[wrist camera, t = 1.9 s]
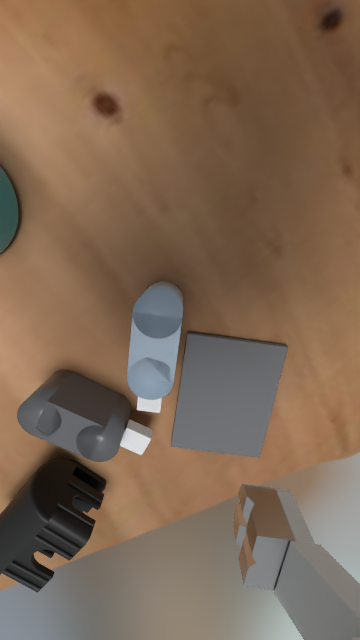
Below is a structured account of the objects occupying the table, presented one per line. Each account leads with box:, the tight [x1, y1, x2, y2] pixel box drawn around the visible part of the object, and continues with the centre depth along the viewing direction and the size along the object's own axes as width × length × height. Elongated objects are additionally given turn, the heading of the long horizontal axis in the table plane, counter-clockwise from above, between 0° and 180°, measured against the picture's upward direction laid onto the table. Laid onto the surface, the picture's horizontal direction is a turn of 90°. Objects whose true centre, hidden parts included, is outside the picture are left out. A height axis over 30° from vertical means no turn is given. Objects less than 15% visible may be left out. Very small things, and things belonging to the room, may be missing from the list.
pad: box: [171, 332, 288, 458], centre depth 25 cm, size 12×9×1 cm
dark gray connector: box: [17, 370, 153, 462], centre depth 24 cm, size 11×4×5 cm, turn 63°
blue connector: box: [127, 281, 183, 413], centre depth 22 cm, size 11×4×5 cm, turn 173°
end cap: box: [0, 459, 106, 592], centre depth 26 cm, size 10×7×7 cm
